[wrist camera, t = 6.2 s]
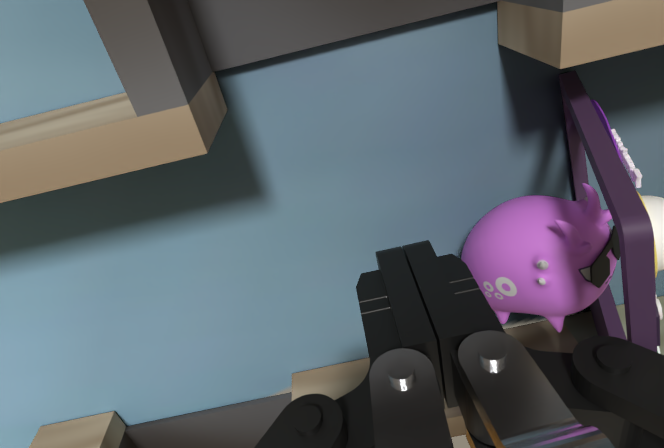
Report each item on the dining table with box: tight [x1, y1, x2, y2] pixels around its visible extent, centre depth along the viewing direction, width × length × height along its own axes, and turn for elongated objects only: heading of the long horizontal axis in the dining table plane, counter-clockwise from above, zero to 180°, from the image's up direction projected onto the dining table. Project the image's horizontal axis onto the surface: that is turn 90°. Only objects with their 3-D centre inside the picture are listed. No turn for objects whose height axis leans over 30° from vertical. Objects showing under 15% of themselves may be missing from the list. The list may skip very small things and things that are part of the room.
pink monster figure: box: [461, 70, 664, 354], centre depth 12 cm, size 7×5×9 cm
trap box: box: [0, 0, 664, 448], centre depth 12 cm, size 24×30×3 cm
